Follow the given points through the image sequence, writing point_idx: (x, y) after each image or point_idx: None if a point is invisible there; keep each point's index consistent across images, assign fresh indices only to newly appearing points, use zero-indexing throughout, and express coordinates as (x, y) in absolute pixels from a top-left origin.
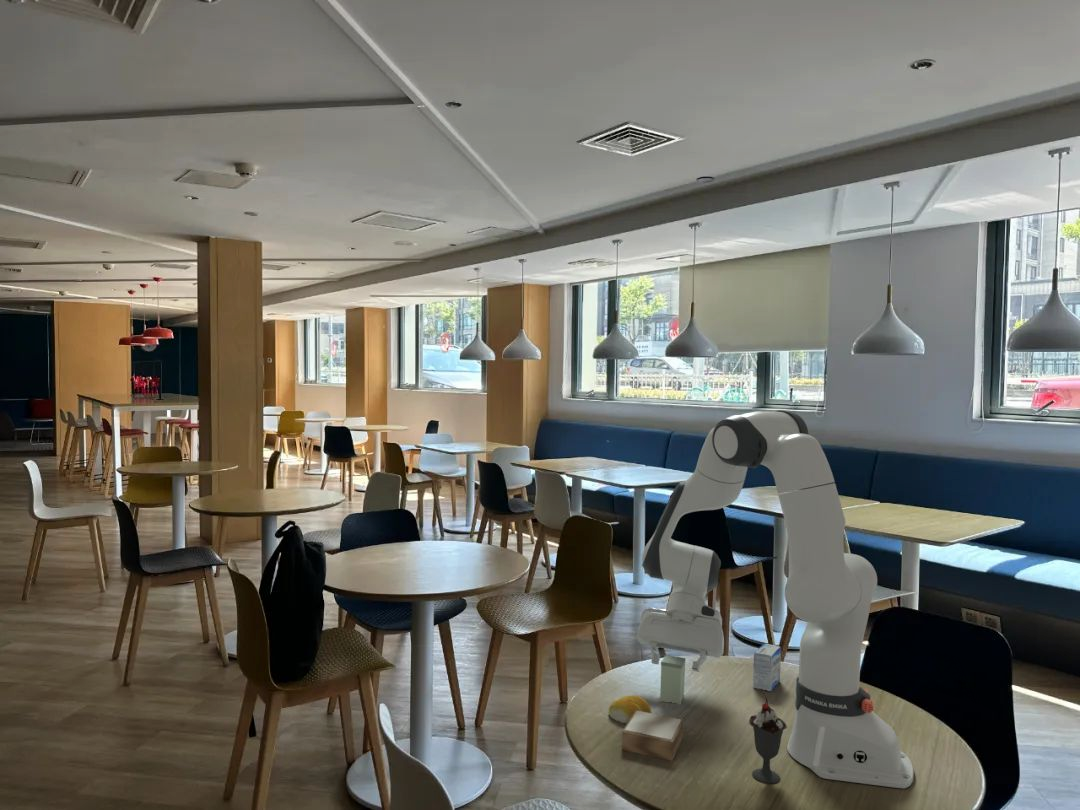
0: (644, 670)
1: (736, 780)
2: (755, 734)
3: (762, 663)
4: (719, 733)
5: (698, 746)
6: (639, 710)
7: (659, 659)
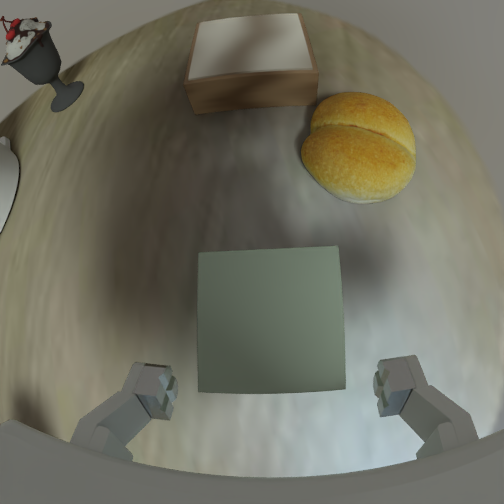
0: None
1: (107, 65)
2: (51, 39)
3: None
4: (115, 175)
5: (160, 103)
6: (323, 111)
7: (379, 405)
